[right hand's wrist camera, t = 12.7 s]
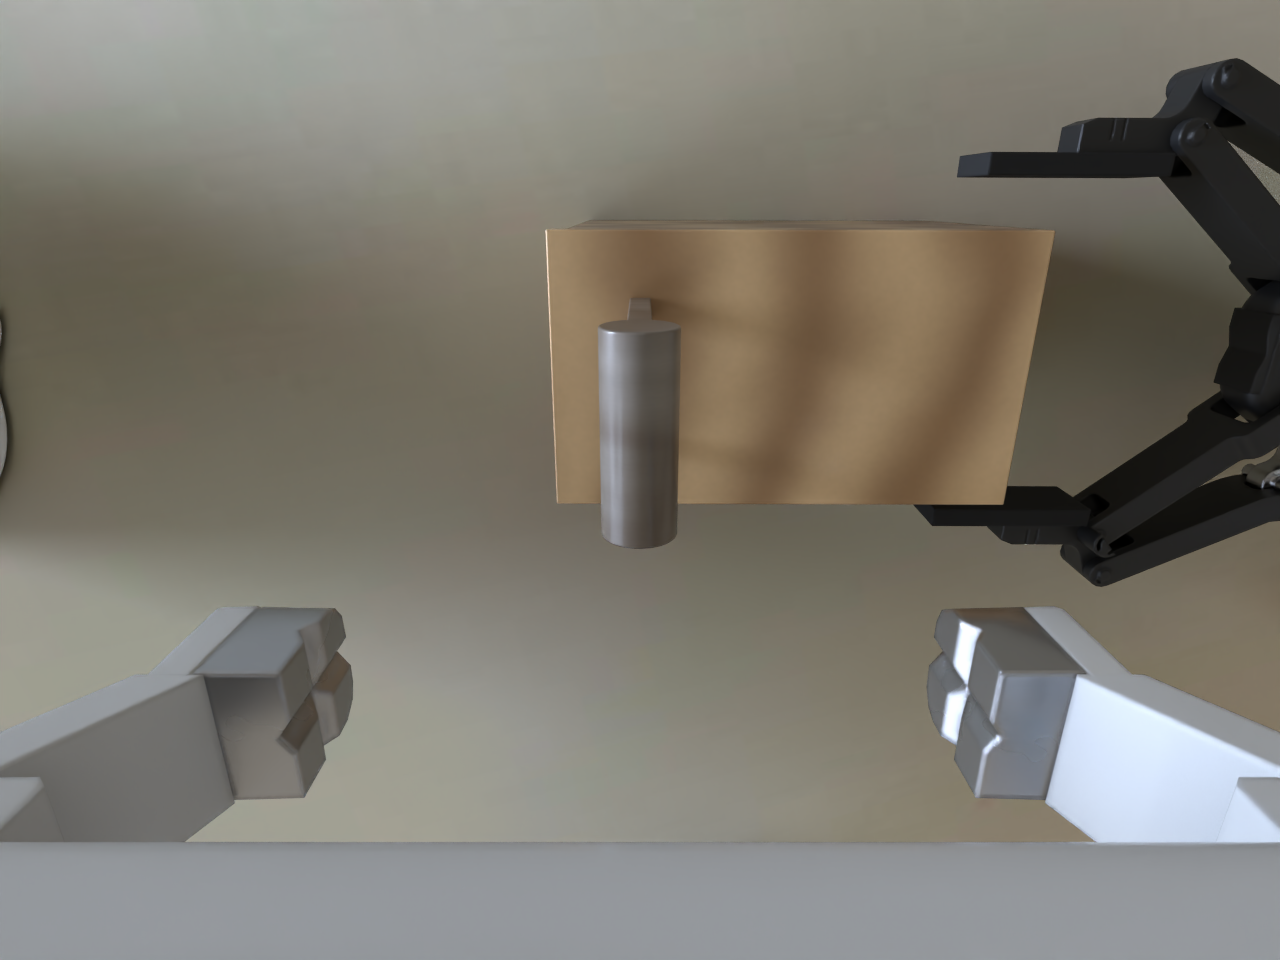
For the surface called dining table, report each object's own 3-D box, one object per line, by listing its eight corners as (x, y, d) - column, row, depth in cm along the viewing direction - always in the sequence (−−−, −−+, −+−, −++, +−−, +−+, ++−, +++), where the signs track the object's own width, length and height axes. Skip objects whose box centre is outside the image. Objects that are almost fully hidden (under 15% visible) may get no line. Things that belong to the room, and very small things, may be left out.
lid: (559, 495, 28) (525, 615, 20) (548, 228, 25) (502, 242, 17) (993, 496, 28) (1136, 617, 20) (1042, 229, 25) (1239, 244, 16)
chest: (592, 416, 38) (574, 494, 28) (587, 220, 35) (565, 228, 25) (900, 417, 38) (992, 495, 28) (926, 221, 35) (1041, 229, 25)
